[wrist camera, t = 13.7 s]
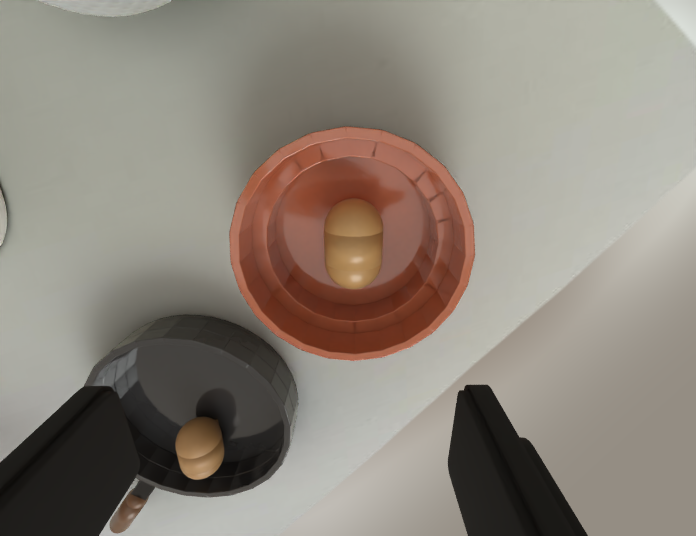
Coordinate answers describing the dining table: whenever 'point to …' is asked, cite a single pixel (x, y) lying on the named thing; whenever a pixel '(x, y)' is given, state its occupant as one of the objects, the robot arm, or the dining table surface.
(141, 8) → the cereal bowl
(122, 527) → the skillet handle
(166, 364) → the skillet
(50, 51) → the dining table surface
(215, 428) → the potato
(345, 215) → the potato
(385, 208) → the bowl
